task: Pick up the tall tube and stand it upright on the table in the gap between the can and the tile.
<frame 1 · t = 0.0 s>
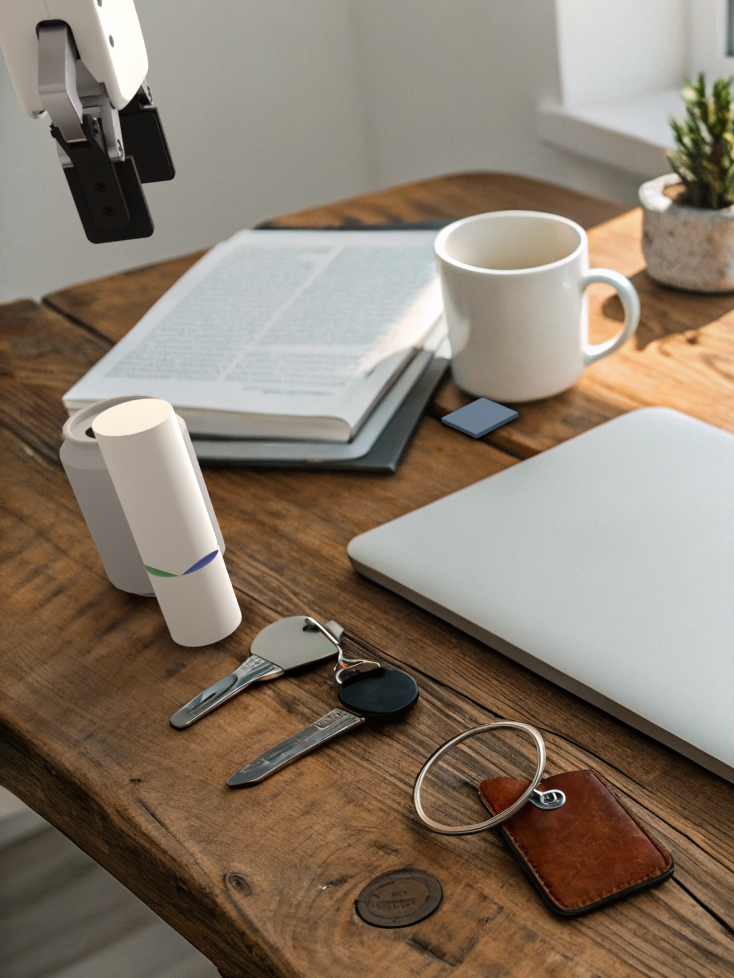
hand: (136, 208, 64), 25 cm above the table, tool pointing down, fingers open, 9 cm apart
can: (172, 572, 79), on the table
tube: (207, 627, 74), on the table
tile: (480, 419, 95), on the table
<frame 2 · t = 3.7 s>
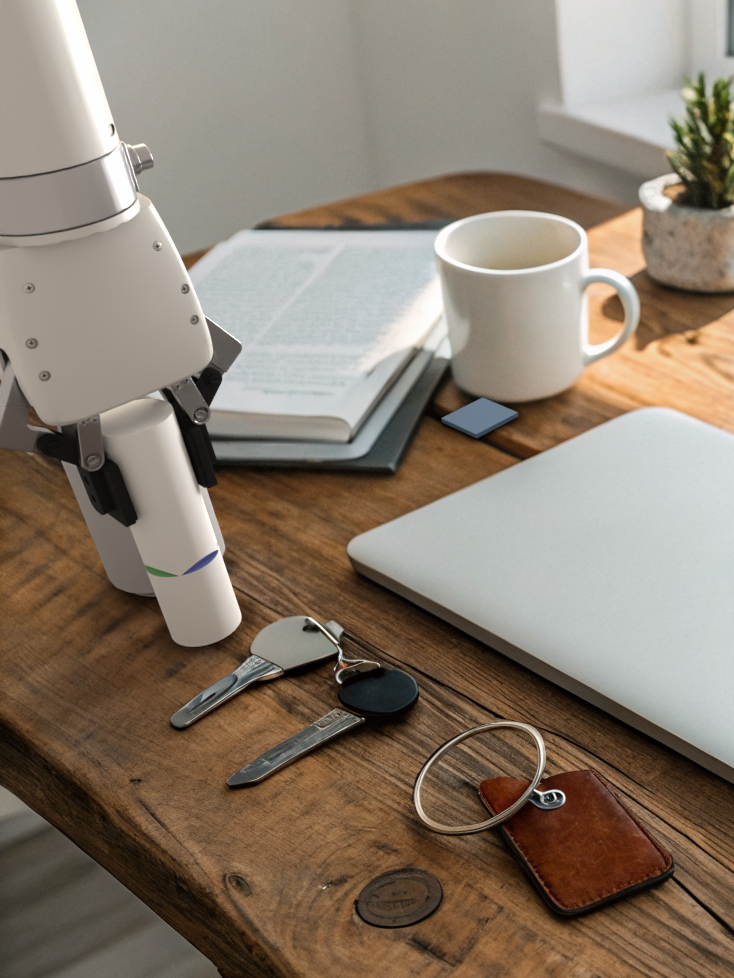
hand: (160, 495, 69), 10 cm above the table, tool pointing down, fingers closed on tube, 4 cm apart
tube: (207, 627, 74), on the table, touching gripper
everything else where it was.
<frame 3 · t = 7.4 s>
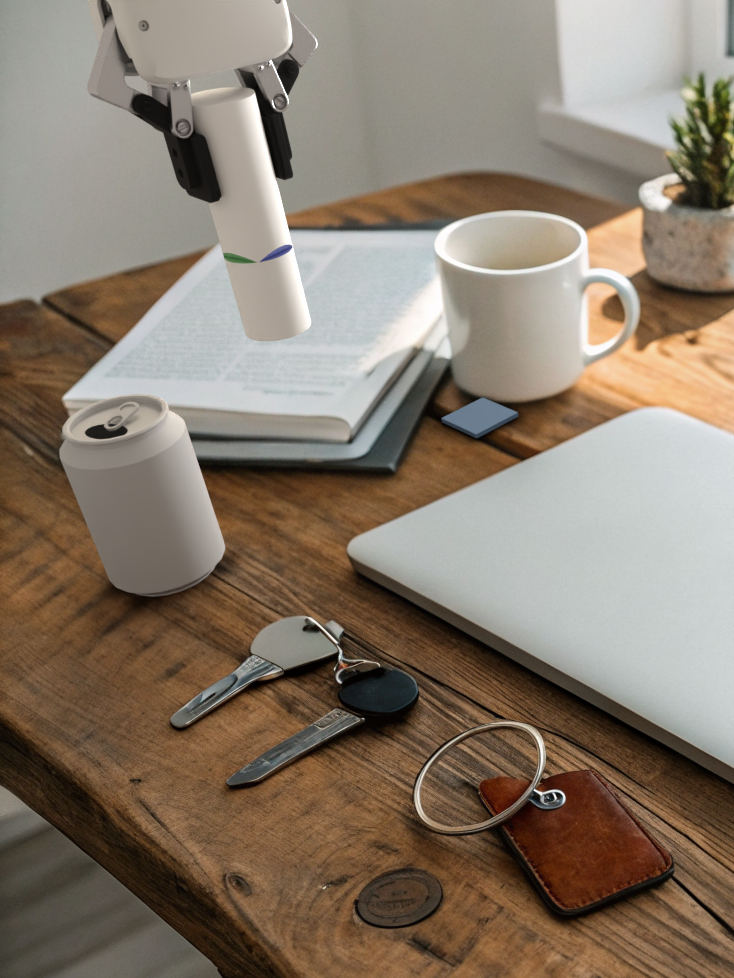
hand: (240, 183, 73), 23 cm above the table, tool pointing down, fingers closed on tube, 4 cm apart
tube: (279, 330, 78), point 14 cm above the table, touching gripper
everything else where it was.
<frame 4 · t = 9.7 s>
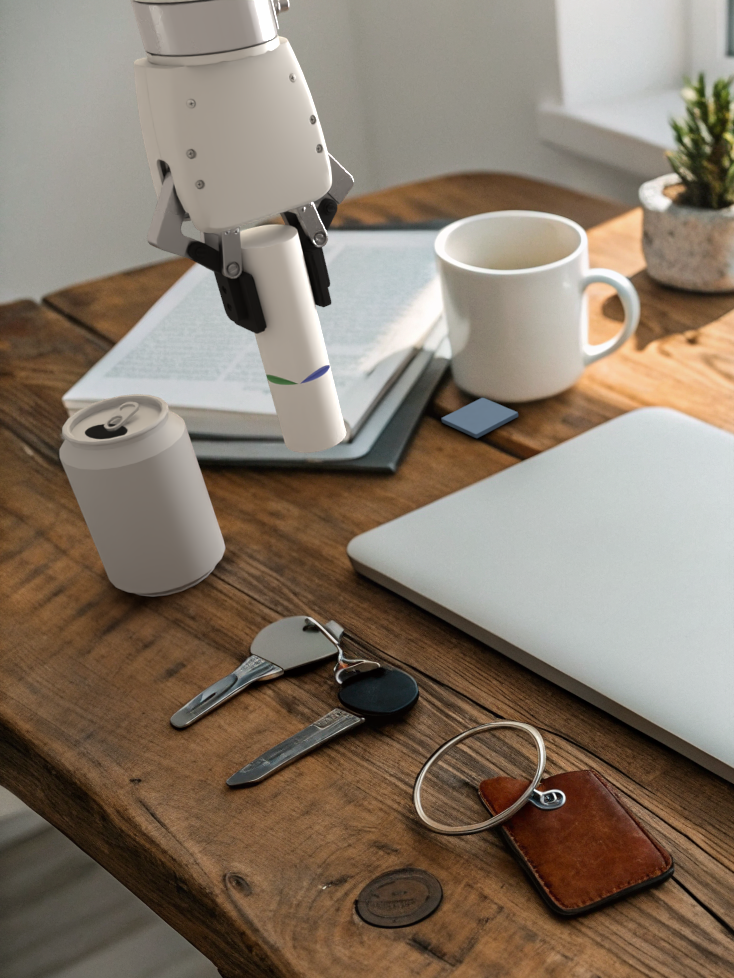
hand: (282, 311, 78), 14 cm above the table, tool pointing down, fingers closed on tube, 4 cm apart
tube: (316, 440, 84), point 5 cm above the table, touching gripper
everything else where it was.
when the fingers open (10 cm above the table, at t = 11.4 s): tube stays where it is, on the table.
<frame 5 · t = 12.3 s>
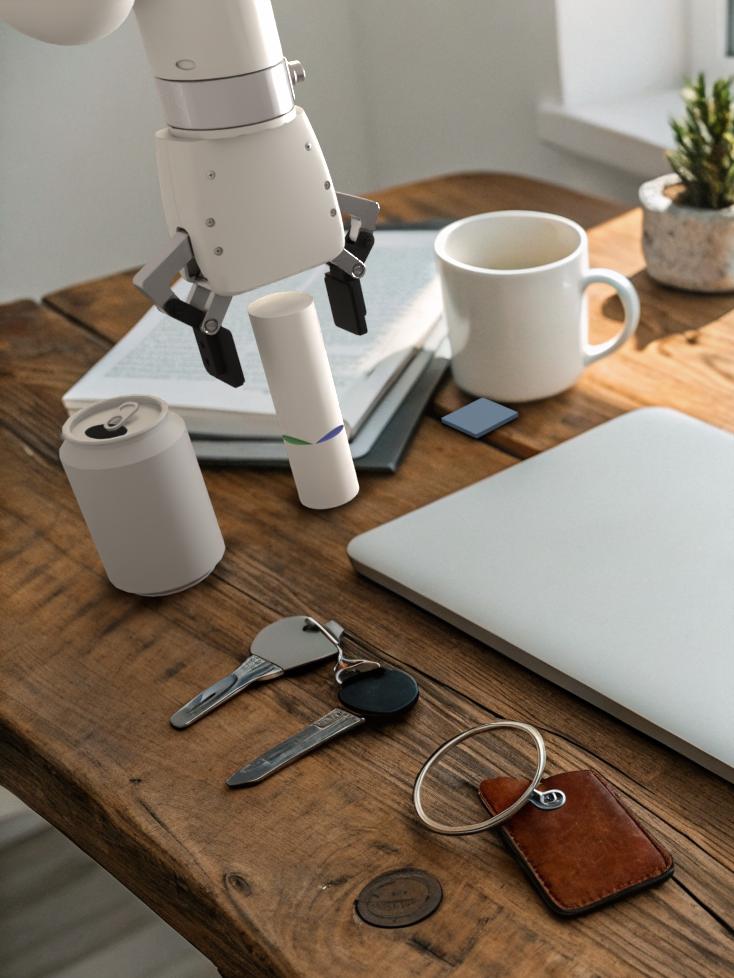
hand: (292, 354, 80), 11 cm above the table, tool pointing down, fingers open, 9 cm apart
tube: (330, 495, 86), on the table
everything else where it was.
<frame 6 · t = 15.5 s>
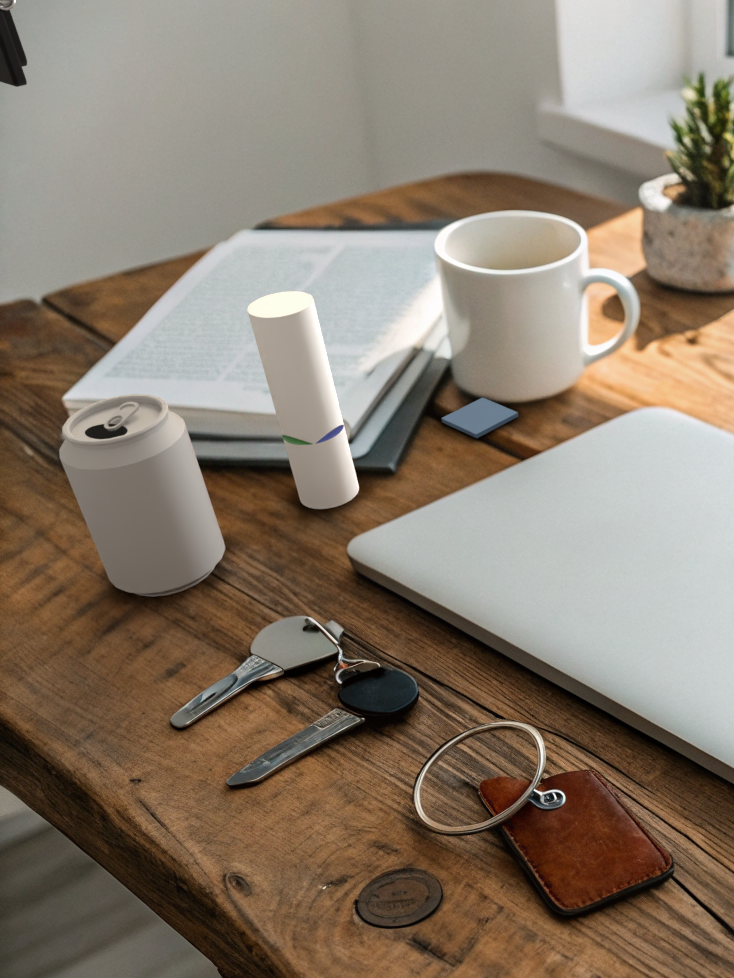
nothing on the table moved.
at the end: tube inside the target area on the table beside the tile (1.7 cm from its centre), on the table; tube inside the target area on the table beside the can (0.4 cm from its centre), on the table; tube tilted 0° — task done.
